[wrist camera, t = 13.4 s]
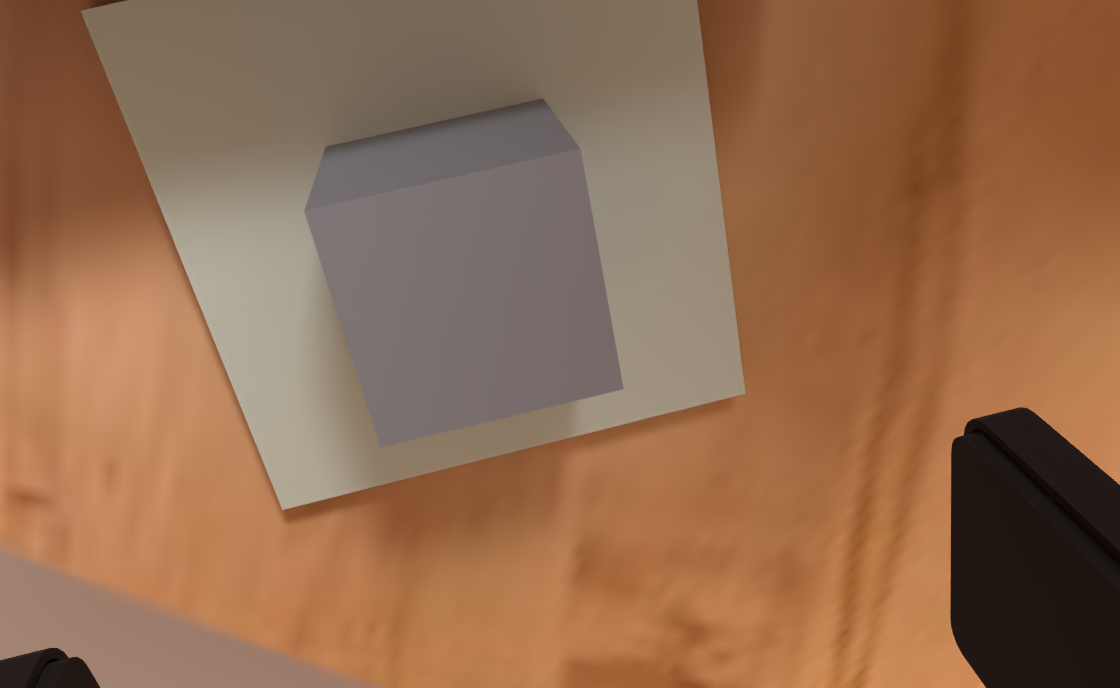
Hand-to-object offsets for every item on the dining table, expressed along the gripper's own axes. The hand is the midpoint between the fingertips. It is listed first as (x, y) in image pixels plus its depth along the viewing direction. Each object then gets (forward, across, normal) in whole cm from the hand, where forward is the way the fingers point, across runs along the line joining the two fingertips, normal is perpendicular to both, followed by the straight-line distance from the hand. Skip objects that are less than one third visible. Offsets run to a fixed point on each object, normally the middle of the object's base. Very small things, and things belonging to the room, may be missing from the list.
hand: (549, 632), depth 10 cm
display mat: (+16, 0, +1) cm, 17 cm away
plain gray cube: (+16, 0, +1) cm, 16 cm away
